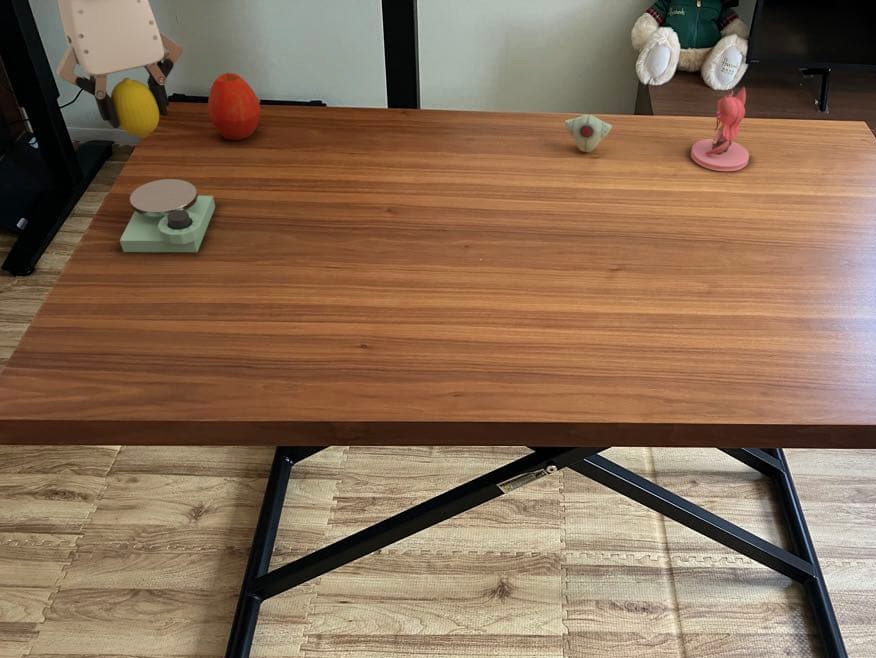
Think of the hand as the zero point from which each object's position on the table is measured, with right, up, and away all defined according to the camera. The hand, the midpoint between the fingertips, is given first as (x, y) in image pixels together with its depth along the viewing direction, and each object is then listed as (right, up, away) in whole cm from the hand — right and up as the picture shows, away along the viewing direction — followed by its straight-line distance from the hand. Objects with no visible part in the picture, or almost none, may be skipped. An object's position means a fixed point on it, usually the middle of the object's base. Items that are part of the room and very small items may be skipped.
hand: (137, 116), depth 113 cm
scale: (-1, -12, +12) cm, 17 cm away
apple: (+2, +8, +33) cm, 34 cm away
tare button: (+3, -13, +7) cm, 15 cm away
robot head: (+60, +5, +34) cm, 69 cm away
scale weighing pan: (-1, -8, +11) cm, 14 cm away
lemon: (0, -2, +2) cm, 3 cm away
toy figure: (+83, +4, +35) cm, 90 cm away
